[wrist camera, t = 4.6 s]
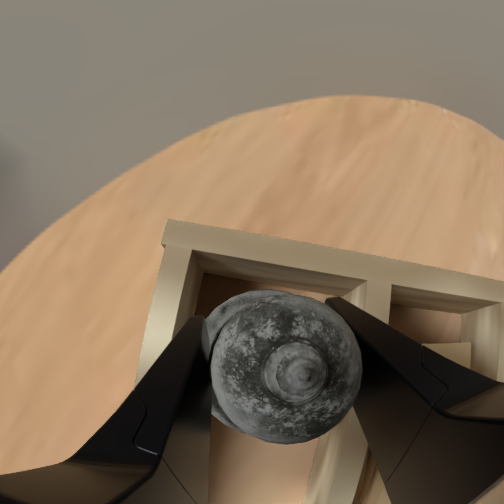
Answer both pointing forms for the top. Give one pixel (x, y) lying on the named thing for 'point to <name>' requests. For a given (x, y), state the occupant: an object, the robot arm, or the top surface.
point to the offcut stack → (370, 482)
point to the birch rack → (327, 282)
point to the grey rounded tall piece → (281, 366)
